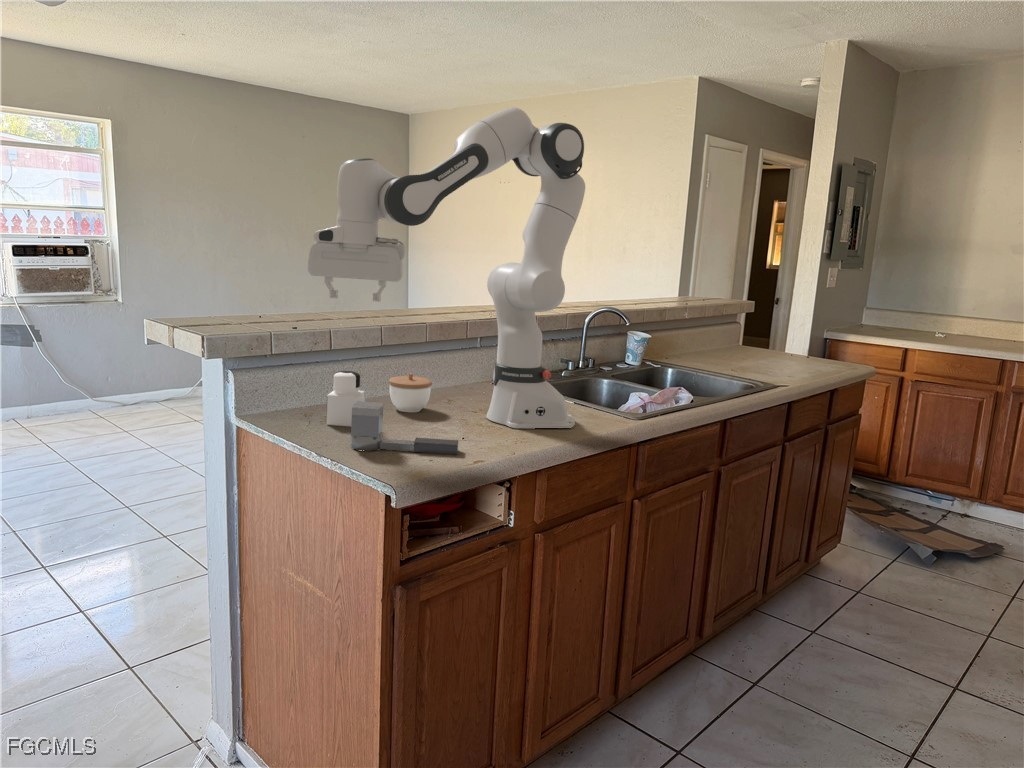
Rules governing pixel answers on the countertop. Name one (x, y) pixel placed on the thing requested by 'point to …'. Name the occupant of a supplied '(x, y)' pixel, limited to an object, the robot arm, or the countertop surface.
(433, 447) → the ratchet
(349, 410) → the medicine bottle
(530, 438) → the countertop surface
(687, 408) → the countertop surface
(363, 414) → the grey metal cube
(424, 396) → the lidded jar
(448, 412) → the countertop surface
